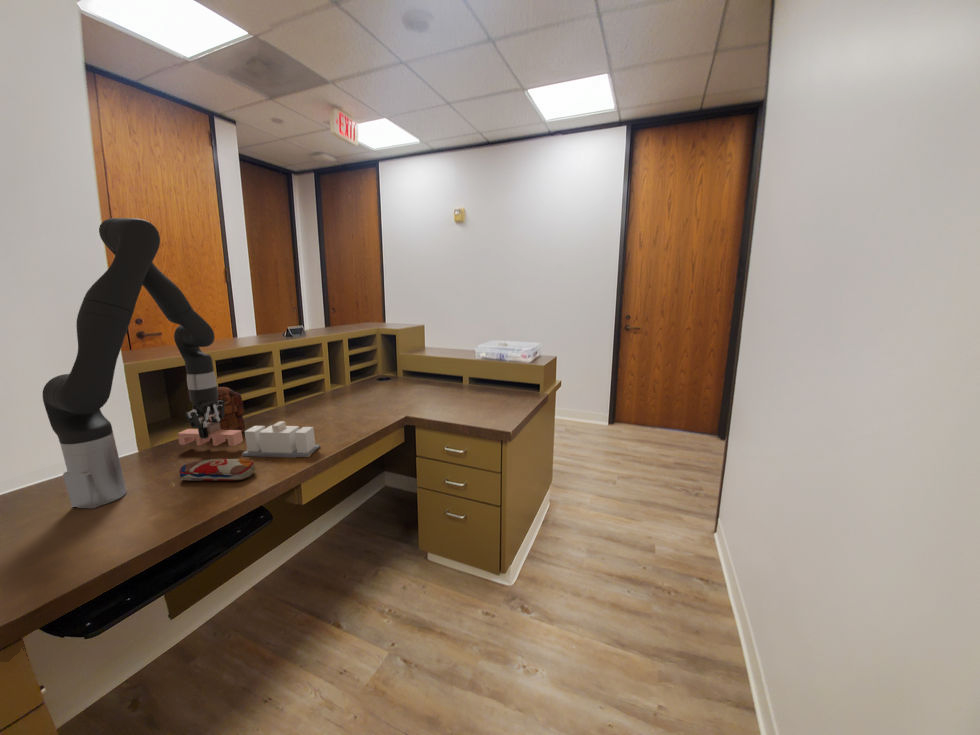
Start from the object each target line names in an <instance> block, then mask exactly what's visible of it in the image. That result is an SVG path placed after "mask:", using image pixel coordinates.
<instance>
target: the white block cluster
mask: <svg viewBox="0 0 980 735" xmlns="http://www.w3.org/2000/svg"><path fill="white" fill-rule="evenodd" d="M244 438H245V443H246V450H245V451H243V452H242V453H241V456H242V457H264V458H266V457H267V458H269V457H270V458H296V457H308V456H309V455H310V454H311V453H313V452H314V451H315V450H316V449H317V448H319V447H320V448H321V444H316V438H315V431H314V426H302V427H300V425H299V426H298V425H286V421H283V420H282V421H281V420H280V421H277V422H276V423H274V424H271V425H269V426H267V427H266V426H265V425H254V426H252V427H249V428H248V429H245V431H244ZM320 448H319V449H320ZM316 451H317V450H316ZM316 451H315V452H316ZM315 452H314V453H315ZM314 453H313V454H314ZM310 456H311V455H310ZM310 456H309V457H310ZM309 457H308V458H309Z"/></svg>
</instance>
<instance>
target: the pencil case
mask: <svg viewBox="0 0 980 735" xmlns="http://www.w3.org/2000/svg"><path fill="white" fill-rule="evenodd" d="M255 470H256V466H255V460H252V459H251V458H249V459H248V458H211V459H202V460H197V461H196V460H195V461H191V462H187V463H185V464H183V465H182V466H181V467H180V468H179V471H178V472H179V479H180V480H182V481H212V482H213V481H242V480H246V479H248V478H249V477H251V476H252V475H253V474H254V472H255Z"/></svg>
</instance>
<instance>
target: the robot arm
mask: <svg viewBox="0 0 980 735" xmlns="http://www.w3.org/2000/svg"><path fill="white" fill-rule="evenodd" d="M98 233H99V238H100V239H101V241H102V242H103V244H104V245H105V246H106V247H107V249H108V250H109V251H111V253H112V254H113V255H114V258H113V260H112V262H111V264H110V266H109V267H108V268H107V270H106V271H105V272H104V273H103V274H102V275H101V276H100V277H99V278H97V279H96V281H95V282H94V283H93V284H92V285H91V286H90V287H89V289H87V291H86V293H85V295H84V296H83V299H82V303H81V305H80V307H79V310H78V314H77V318H76V336H77V353H76V358H75V361H74V363H73V366H72V368H71V370H70V372H69V373H65V374H60V375H57V376H54V377H52V378H51V379H50V380H48V382H46V383H45V385H44V386H43V388H42V402H43V405H44V408H45V412H46V415H47V417H48V420H49V424H50V426H51V429H52V430H53V432H54V433H55V435H57V438H58V441H59V445H60V449H61V452H62V456H63V459H64V464H65V467H66V471H65V472H63V474H62V476H63V480H64V483H65V487H66V490H67V495H68V498H69V501H70V506H71V508H72V507H77V508H76V509H96V508H98V507H100V506H103V505H107V504H109V503H112V502H114V501H117V500H119V499H121V498H122V497H124V496H125V495H126V494H127V492H128V491H127V486H126V483H125V478H124V473H123V469H122V465H121V460H120V456H119V451H118V447H117V444H116V443H117V442H116V439H115V434H114V431H113V426H112V423H111V422H110V420H108V419H107V418H106V417H105V415H104V414H103V412H102V410H101V409H102V408H103V407H104V405H105V406H106V403H107V402H108V401H109V398H110V395H111V391H112V388H113V387H112V386H113V381H114V375H115V370H116V365H117V362H118V357H119V355H120V351H121V350H122V346H123V343H124V340H125V337H126V334H127V332H128V329H129V327H130V323H131V322H132V321H131V320H132V318H133V315H134V312H135V308H136V304H137V301H138V298H139V295H140V292H141V290H142V288H144V289H145V290H146V291H147V293H148V294H149V295H150V296H151V298H152V299H153V300H154V302H155V304H156V305H157V306H158V307H159V309H160V311H161V312H162V313H163V316H165V318H166V319H167V320H168V321H169V322H170V323H173V324H176V325H179V326H177V327H176V328H175V330H174V333H173V340H174V343H175V345H176V347H177V349H178V351H179V354H180V356H181V357H182V359H183V361H184V365H185V371H186V383H187V389H188V390H187V391H188V394H189V401H190V402H191V403H192V410H190V411H186V412H185V416H186V419H187V421H188V423H189V425H190V427H191V429H198V431H199V436H200V438H205V439H206V438H208V432H207V427H206V424H207V420H208V418H210V420H211V421H212V422H218V423H219V421H220V419H221V418H223V417H224V407H225V401H217V398H218V397H219V396H218V389H217V387H218V384H217V383H218V382H217V377H216V374H215V371H214V363H213V358H212V356H211V355H210V354H208V353H205V352H203V351H202V349H201V348H206V347H210V346H211V345H212V344H213V343H214V342H215V332H214V330H213V328H212V326H211V325H210V324H209V323H208V322H207V321H206V320H205V319H204V318H203V317H202V316H201V315H200V314H199V313H198V312H197V311H195V310H194V309H193V307H192V305H191V303H190V302H189V300H188V299H187V297H186V296H185V294H184V293H183V291H182V290H181V289H180V288H179V286H178V285H176V284H175V283H174V282H173V281H172V280H171V279H170V278H169V277H167V276H166V275H165V274H164V273H163V272H162V271H161V270H160V269H159V268H158V267H157V266H156V265H155V264H154V263H153V261H154V259H155V257H156V255H157V254H158V251H159V249H160V244H161V236H160V232H159V230H158V229H157V228H156V226H155V225H154V224H152V222H150V221H148V220H146V219H142V218H136V217H135V218H134V217H133V218H132V217H131V218H130V217H118V218H117V217H112V218H107V219H105V220H103V221H102V222H101V223H100V224H99V227H98ZM219 411H220V415H219Z"/></svg>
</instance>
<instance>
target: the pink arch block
mask: <svg viewBox="0 0 980 735" xmlns="http://www.w3.org/2000/svg"><path fill="white" fill-rule="evenodd" d="M206 427H207V432H208V438H206V439H205V438H200V436H199V431H198V428H187V429H183V430H182V431H180V432H178V433H177V436H178V437H177V438H178V442H179V445H181V446H182V445H183V446H187V444H190V443H192V442H194V441H196V446H202V445H204V444H206V443H208V442H210V441H211V439H212V446H219V445H221V444H223V443H224V442H226V441H227V446H228V447H236V446H237V445H239V444H241V443H242V442H243V441H244V440H243V433H242V431H241V430H221V429H220V423H218V422H208V423H207V424H206Z"/></svg>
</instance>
